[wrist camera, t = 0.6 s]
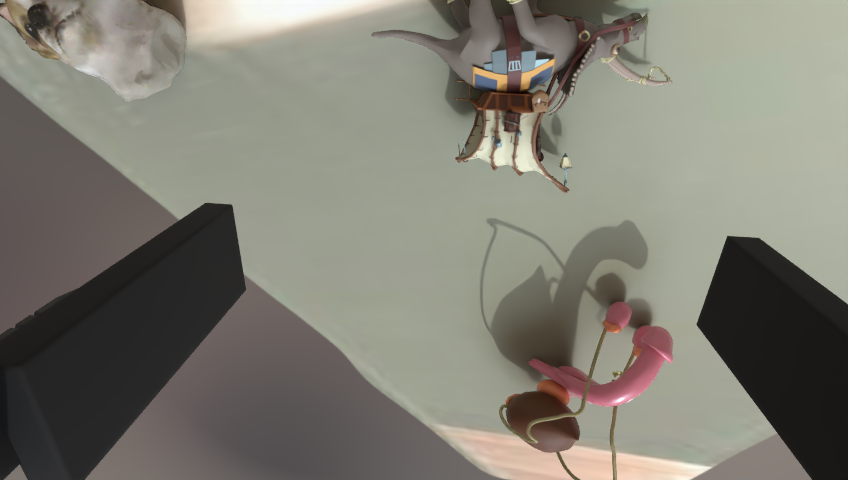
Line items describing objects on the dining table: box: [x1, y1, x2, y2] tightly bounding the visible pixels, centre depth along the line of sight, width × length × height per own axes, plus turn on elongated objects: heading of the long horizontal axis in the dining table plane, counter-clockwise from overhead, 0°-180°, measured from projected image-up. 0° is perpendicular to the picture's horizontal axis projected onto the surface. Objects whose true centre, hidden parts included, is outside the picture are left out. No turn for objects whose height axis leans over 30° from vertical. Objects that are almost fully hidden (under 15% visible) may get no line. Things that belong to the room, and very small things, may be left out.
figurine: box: [372, 0, 673, 193], centre depth 33 cm, size 20×6×17 cm
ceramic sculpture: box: [0, 0, 186, 101], centre depth 32 cm, size 11×9×15 cm
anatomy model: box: [499, 301, 673, 480], centre depth 41 cm, size 10×14×15 cm
